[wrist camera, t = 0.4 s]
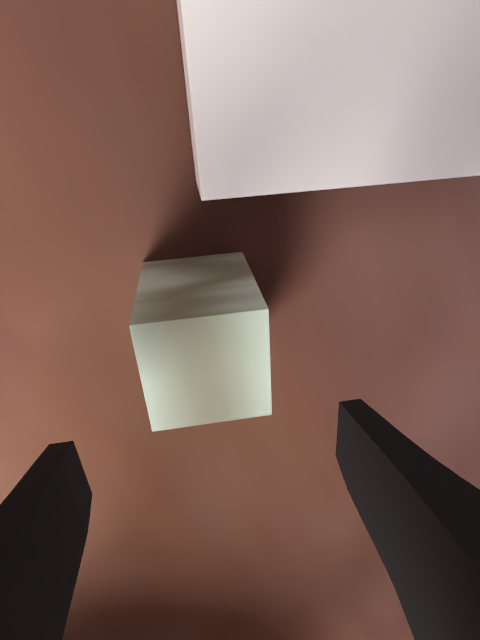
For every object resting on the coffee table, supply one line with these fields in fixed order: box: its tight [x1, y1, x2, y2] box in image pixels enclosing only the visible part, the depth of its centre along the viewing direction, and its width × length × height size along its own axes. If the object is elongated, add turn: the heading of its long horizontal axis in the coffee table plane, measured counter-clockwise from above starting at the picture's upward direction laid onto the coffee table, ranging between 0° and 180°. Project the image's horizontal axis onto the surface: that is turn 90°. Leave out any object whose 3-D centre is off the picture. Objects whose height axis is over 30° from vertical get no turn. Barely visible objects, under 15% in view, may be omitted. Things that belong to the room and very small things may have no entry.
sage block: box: [129, 252, 272, 432], centre depth 17 cm, size 4×4×6 cm
